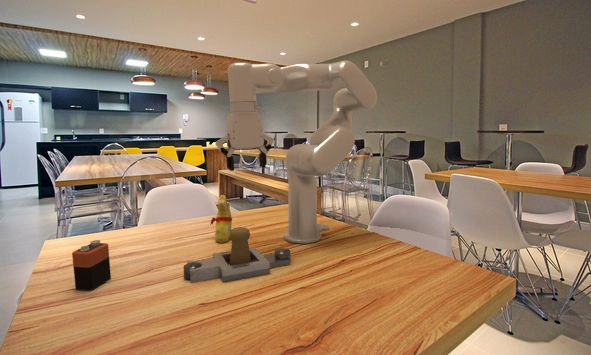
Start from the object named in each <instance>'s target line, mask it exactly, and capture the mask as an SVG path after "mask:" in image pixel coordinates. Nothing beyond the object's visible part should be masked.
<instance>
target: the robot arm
mask: <svg viewBox="0 0 591 355" xmlns="http://www.w3.org/2000/svg"><path fill="white" fill-rule="evenodd" d="M227 77H228V78H227V79H228V90H229V92H228V94H229V95H228V96H229V108H230V114H227V118H226V132H225V133H226V135H225V136H223V137H221V138H220V139H218V140H216V141H215V145H216V147H217V148H218V150H219V152H221V153H222V154H223V155H224V156H225V159H226V168H227V169H228V171H231V172H234V171H235V163H234V156H233V154H234V153H235V151H236V150H237V151H239V150H254V149H257V150H258V151H259V154H258V159H259V162H258V163H259V167H260V168H263V169H264V168H265V169H266V167H267V166H266V165H267V163H268V162H267V160H268V159H267V154H268V153H269V151H270V150H271V148H272V145H273V143H274V141H275V139H274V138H273V137H272V136H269V135H268V134H265V133H264V129H263V123H262V118H261V115H260V113H258V112H259V110H261V109H262V105H261V104H259V103H258V101H257V99H258V98H257V94H267V93H268V94H270V93H271V94H272V93H301V92H318V91H321V92H323V91H334V90H338V91H337V92H336V93H335V94H334V97H333V112H332V115H331V117H330V118H329V119H328V120H327V121H325V122H324V123H323V124H322V125H321V126H319V127H318V128H317V129H316V130H314V131H313V133H312V134H311V135H310V138H309V144H308V143H307V144H305V143H303V144H301V143H299V144H295V145H292V146H291V147H290V148H289V149H288V150H287V151H286V155H285V167H286V168H285V169H286V173H287V179H288V180H287V183H288V184H287V186H288V194H287V195H288V201H287V202H288V209H287V210H288V215H287V217H288V225H287V226H288V227H287V228H288V231H286V232H284V233H283V239H284V241H287V242H289V243H294V244H302V245H303V244H312V243H313V244H314V243H316V242H319V241H320V240H321V239H322V233H321V232H323V231H329V230H330V226H329V224H322V223H319V224H318V222H317V220H318V219H317V217H318V183H317V179H316V177H323V176H326V175H328V174H330V173H331V172H332V171H333V170H335V168H337V167H338V166H339V165H340V164H341V163H342V162H343V161H344V160H345V159H346V158H347V157H348V156H350V154H351V152H352V151H353V149H354V147H355V140H356V139H355V134H354V132H353V131H352V129H353V118H352V117H353V116H352V112H366V111H370V110H372V109H373V108H374V107H375V106H376V105H377V102H378V93H377V90H376V88H375V87H374V86H373V84H372V83H371V81H370V80H369V79H368V77H367V76H366V75H365V74H364V72H363V71H362V70H361V69H360V68H359V67H358V66H357V65H356V63H353V62H352V61H350V60H341V61H337V62H333V63H297V64H293V65H288V66H282V67H280V66H278V65H277V64H274V63H268V62H267V63H259V64H258V63H257V64H256V63H254V64H252V63H249V62H234V63H231V64H230V65H228V67H227ZM265 141H267V142H266V145H265V146H264V144H265ZM224 143H226V147H227V149H226V148H225V146H224V145H223V144H224Z"/></svg>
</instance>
